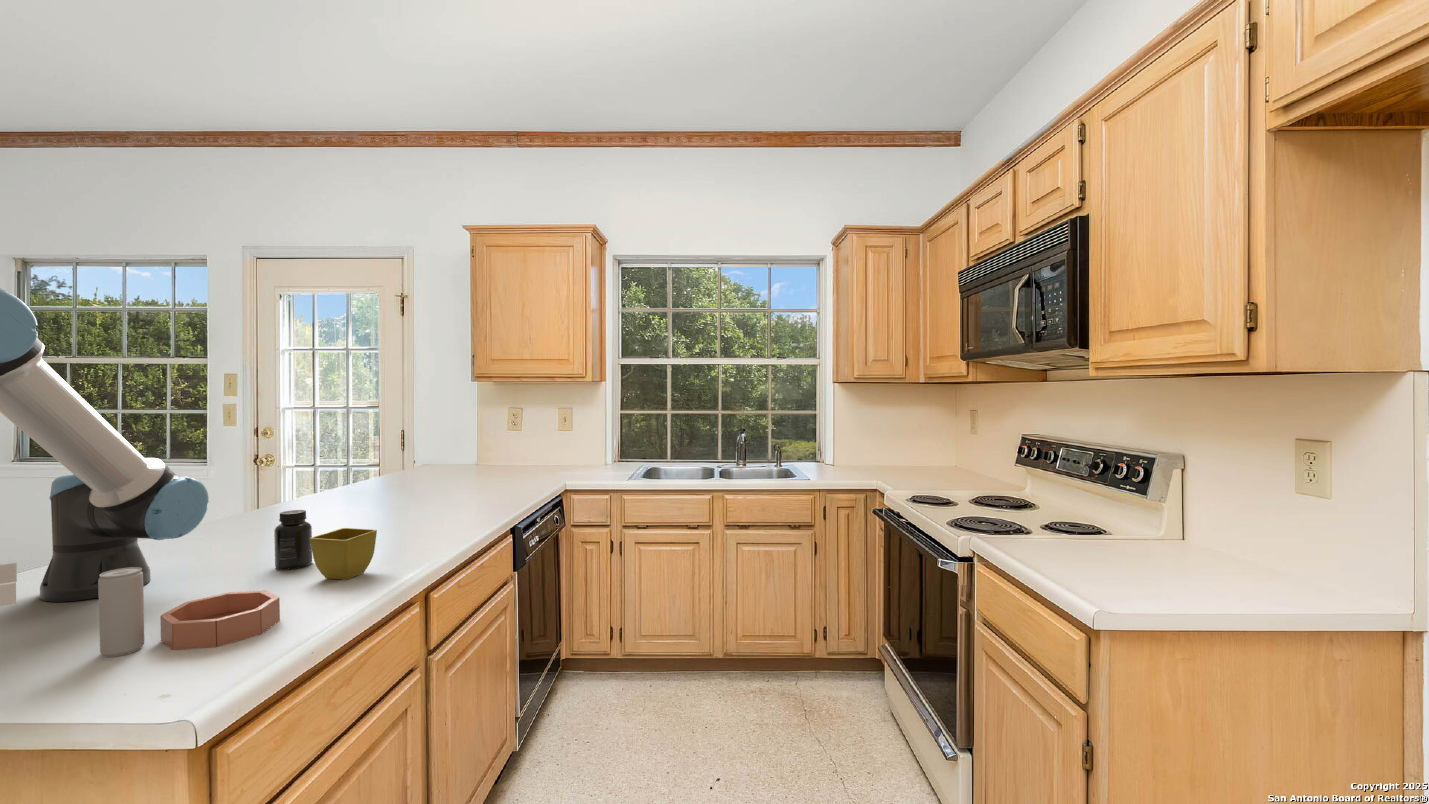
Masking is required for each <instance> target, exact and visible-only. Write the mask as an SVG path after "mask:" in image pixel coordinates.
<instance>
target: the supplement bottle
mask: <svg viewBox="0 0 1429 804" xmlns="http://www.w3.org/2000/svg"><path fill="white" fill-rule="evenodd" d="M278 521H279V522H280V524H278V525H277V526H276V527H275V528H274V531H273V532H274V535H273V537H274V538H273V539H274V541H273V542H274V567H275V569H278V570H280V569H282V570H286V569H288V570H295V568H296V569H301V568H305V567H307V566H310V565H312V562H313V553H312V548H311V542H310V538H312V537H313V531H312V529H313V528H312V524H311V523H309V522H308V521H307V511H306V510H305V509H294V510H293V509H291V510H286V511H281V512H280V513H279V519H278Z"/></svg>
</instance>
